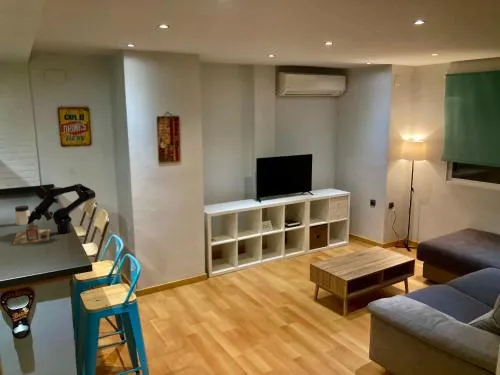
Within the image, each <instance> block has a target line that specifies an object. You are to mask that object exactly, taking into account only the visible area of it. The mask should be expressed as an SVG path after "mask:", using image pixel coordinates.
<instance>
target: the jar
mask: <svg viewBox="0 0 500 375" xmlns="http://www.w3.org/2000/svg"><path fill="white" fill-rule="evenodd" d="M14 209H15V211H14V216H15V223H16V225H17V226H24V225H28V224H27V223H28V218H27V216H30V214H31V211H30V209H29V205H17V206H15V208H14Z"/></svg>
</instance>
